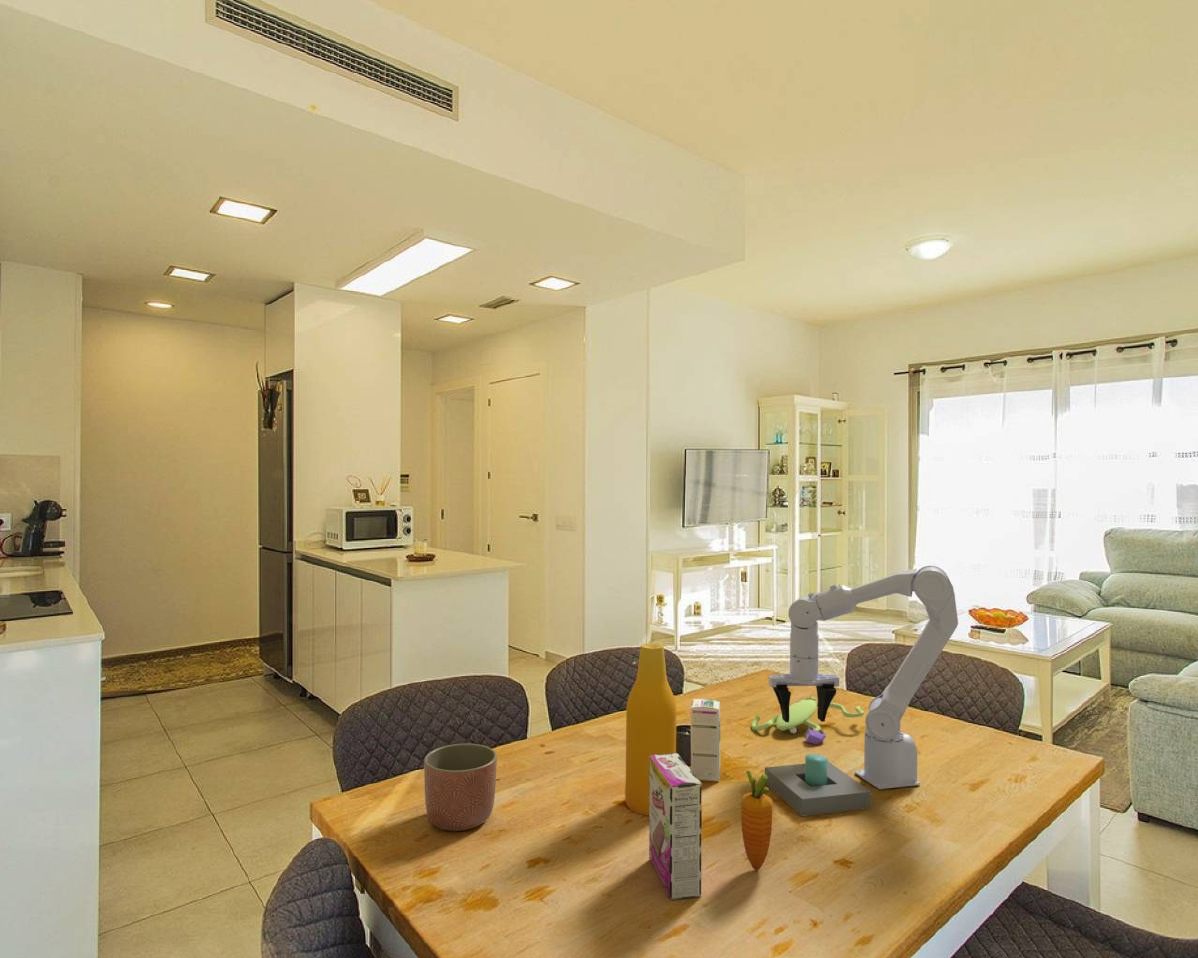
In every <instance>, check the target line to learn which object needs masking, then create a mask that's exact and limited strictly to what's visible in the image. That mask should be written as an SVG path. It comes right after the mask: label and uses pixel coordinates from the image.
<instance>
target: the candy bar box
mask: <svg viewBox="0 0 1198 958" xmlns="http://www.w3.org/2000/svg"><path fill="white" fill-rule="evenodd" d="M702 787H703V783H702V782H701V780H698V778H697V777H696V776H695V775H694V773H693V772H692V771H691V767H689V766H688V765H687V763H686V762H685V761H684V760H683V758H682V757H681V756H680V755H679V753H677V752H676V753H674V754H661V755H657V754H656V755H651V756H649V803H650V808H649V809H650V812H649V817H648V818H649V823H648V825H649V827H648V829H649V833H648V835H649V845H648V846H649V847H648V849H649V850H648V851H649V852H648V853H649V855H648V859H649V861H650V863H651V864H652V867H653V868H654V870H655V872H656V874H657V876H658V877H659V879H660V882H661V883H662V885H663V887H664V890H665V891H666V893H667V895H668V898H669V899H670V901H675V900H685V899H690V898H699V897H700V898H701V897H702V795H703V794H702V793H703V792H702V790H703V789H702Z"/></svg>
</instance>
